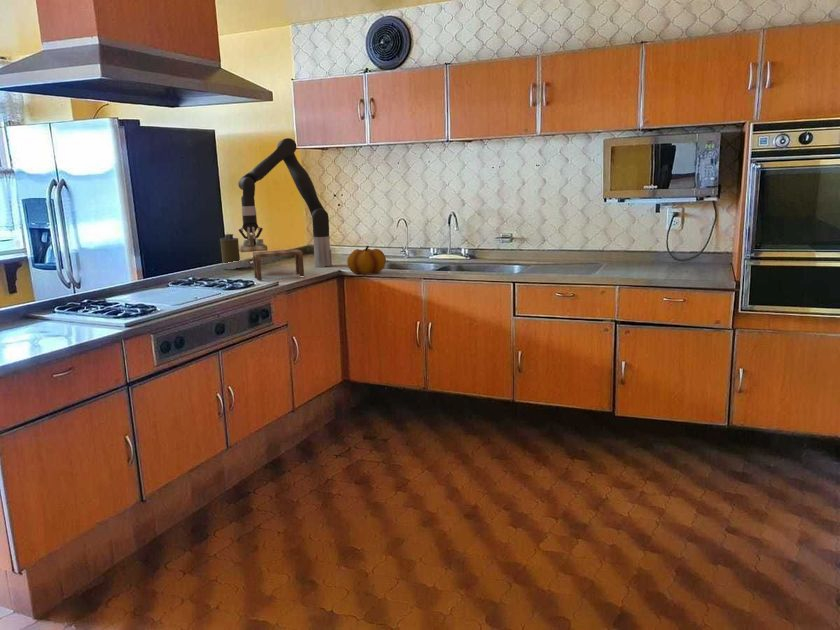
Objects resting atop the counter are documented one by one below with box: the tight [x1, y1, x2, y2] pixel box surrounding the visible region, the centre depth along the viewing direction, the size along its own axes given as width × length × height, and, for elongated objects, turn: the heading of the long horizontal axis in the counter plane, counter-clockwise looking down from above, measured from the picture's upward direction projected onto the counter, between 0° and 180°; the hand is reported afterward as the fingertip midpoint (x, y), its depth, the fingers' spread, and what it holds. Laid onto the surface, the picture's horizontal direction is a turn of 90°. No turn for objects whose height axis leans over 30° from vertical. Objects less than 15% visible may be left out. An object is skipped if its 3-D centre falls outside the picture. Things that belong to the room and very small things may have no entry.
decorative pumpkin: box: [346, 245, 387, 276], centre depth 352 cm, size 20×22×15 cm
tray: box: [239, 233, 269, 253], centre depth 367 cm, size 14×23×8 cm, turn 21°
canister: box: [219, 233, 241, 265], centre depth 384 cm, size 11×10×20 cm
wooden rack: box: [252, 248, 305, 281], centre depth 347 cm, size 24×12×14 cm, turn 111°
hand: (252, 245), depth 365 cm, fingers closed on tray
